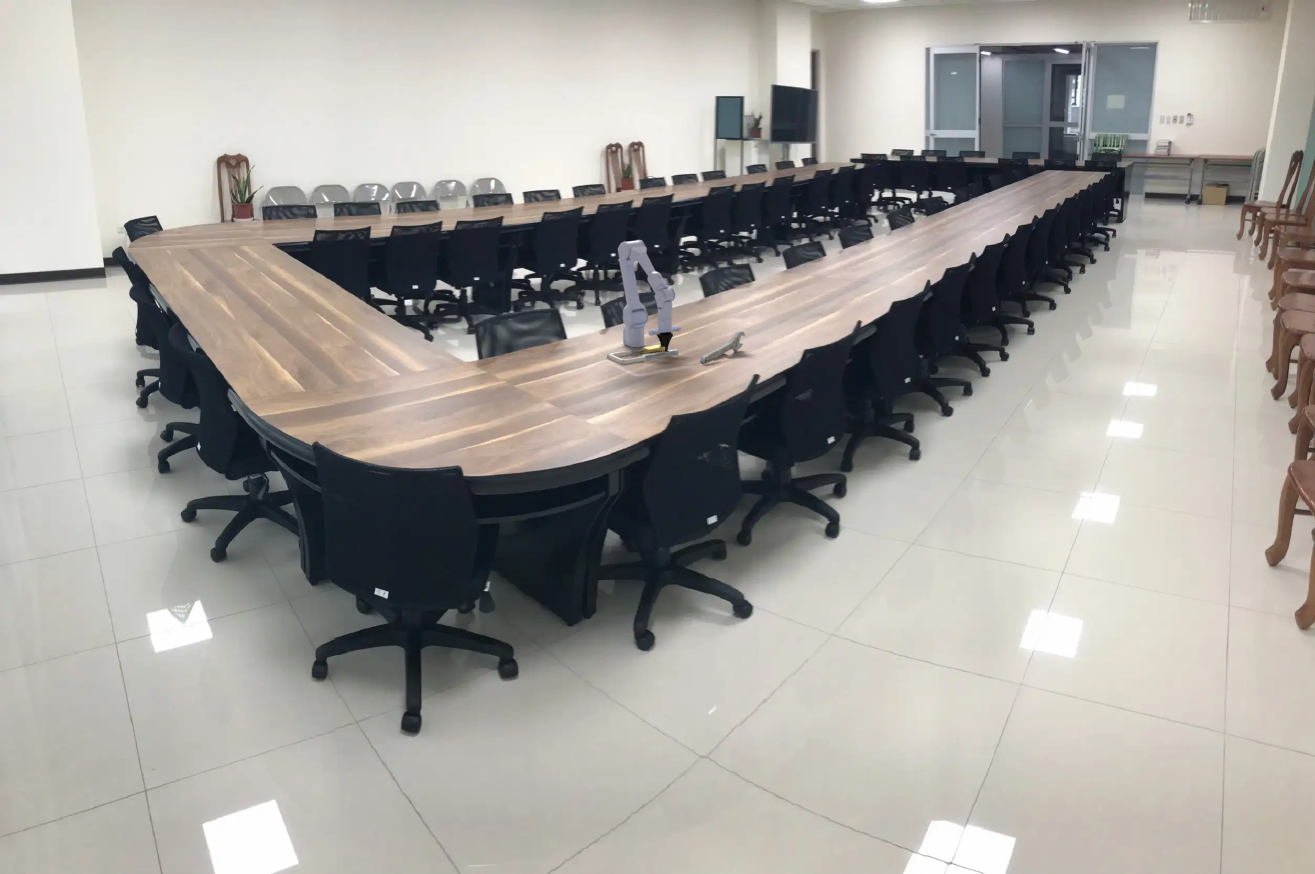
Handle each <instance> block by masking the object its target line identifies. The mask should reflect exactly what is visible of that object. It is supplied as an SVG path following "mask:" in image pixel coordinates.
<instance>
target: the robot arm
mask: <svg viewBox="0 0 1315 874" xmlns="http://www.w3.org/2000/svg"><path fill="white" fill-rule="evenodd" d="M647 249H648V247H646V245H645V243H644V241H643V240H641V239H637V240H631V241H622V242H620V244H619V246H618V248H617V251H618V252H617V253H618V258H619V268H620V272H621V278H622V283H623V289H624V293H625V294H624V295H625V300H626V305H625V306H624V308H623V309H622V314H623V315H622V321H623V324H624V327H623V330H622V344H620V345H622V346H624V345H626V346H627V347H631V348H639V347H645V326H646V324H647V323H648V321H649V314H648V312H647V309H646V306H645V305H644V304H643V303H642V302H641V301H640V295H639V290H638V289H639V288H638V284H637V279H636V278H637V277H636V274H635V273H636V272H635V267H634V265H635V263H636V262H638V263H639V265H640V266H641V268H642V270H643V271H644V272H645V273H646V275H647V282H648V284H649V285H650V287H651V288H652V290H653V293H655V294H654V300H655V301H656V306H657V327H656V328H652V329H649V330H648V336H650V337H653V336H654V335H655V336H656V337H657V339H658V340H659V343H660V345H662V346H665V351H667V350H669V345H670V343H671V340H672V338H673V337H674V334H673V333H675V332H681V331H682V329H681V327H682V326H680V325H673V324H672V323H673V301H674V300H675V298H676V292H675V290H674V287H671V286H669V285H668V284H667V283H666V281H665V280H664V278H663V276H662V274H661V273H660V272H658V271H656V270H655V268H654V266H653V264H652V262H651V259H650V258H649V255H648V254H647Z"/></svg>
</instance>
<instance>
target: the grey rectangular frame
mask: <svg viewBox="0 0 1315 874" xmlns="http://www.w3.org/2000/svg"><path fill="white" fill-rule="evenodd" d="M631 351H632V350H630V349H629V350H623V351H617V352H611V353H607V354H606V358H607V359H609V360H611V361H613V362H616V363H619V364H621V365H628V364H629V365H630V364H633V363H640V362H645V356H642V357H631V358H625V359H623V358H620V357H625V356H629V355H631ZM631 356H632V355H631Z"/></svg>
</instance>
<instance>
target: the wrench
mask: <svg viewBox="0 0 1315 874" xmlns="http://www.w3.org/2000/svg"><path fill="white" fill-rule="evenodd" d="M742 337H746V335H745V332H744V331H740V330H739V331H738V330H737V331H736V332H735V333H734V335H733V336H732V338H731V339H730V340H729V341H728V342H727V343H724V344H723V345H720V346H719V347H717V348H715V349H713V350H711V351H710V352H707V353H706V354H704V355H703V356H701V357H700V359H699V361H700V364H702V365H706V364H708V363H710V362H712V361H713V359H716V358H718V357H721V356H722V355H724V354H725V353H727V352H729V351H731V350H733V353H738V352H739V351H738V350H740V349H741V348H742V347H743V345H744V343H742V342H740V340H741V338H742Z"/></svg>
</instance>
